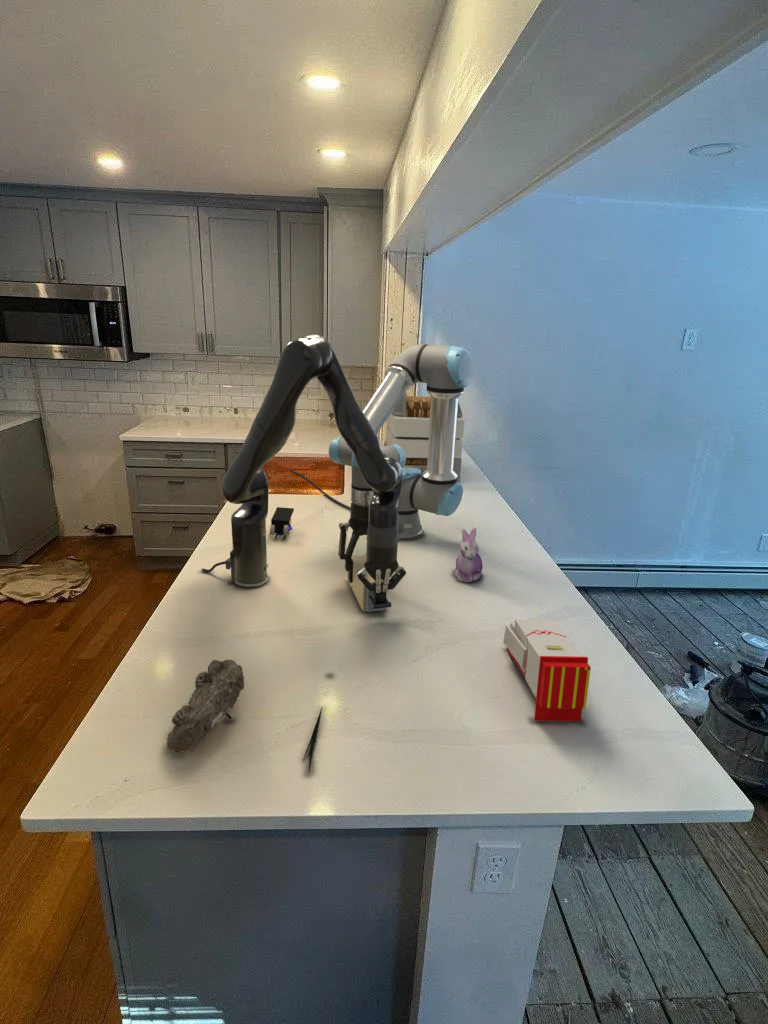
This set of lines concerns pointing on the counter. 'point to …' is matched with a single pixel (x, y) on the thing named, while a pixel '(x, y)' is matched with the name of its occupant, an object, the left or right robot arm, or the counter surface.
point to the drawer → (375, 606)
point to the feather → (313, 740)
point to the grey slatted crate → (418, 431)
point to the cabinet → (357, 585)
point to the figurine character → (281, 522)
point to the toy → (549, 668)
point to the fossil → (206, 705)
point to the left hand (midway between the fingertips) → (379, 604)
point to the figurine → (468, 558)
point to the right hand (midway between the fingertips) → (362, 579)
